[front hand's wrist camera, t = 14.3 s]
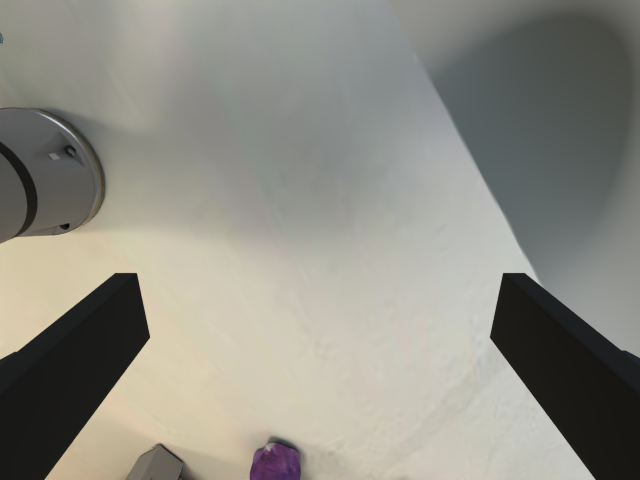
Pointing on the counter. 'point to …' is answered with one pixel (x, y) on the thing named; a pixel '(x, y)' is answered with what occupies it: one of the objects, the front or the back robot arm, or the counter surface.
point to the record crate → (156, 466)
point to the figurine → (275, 463)
